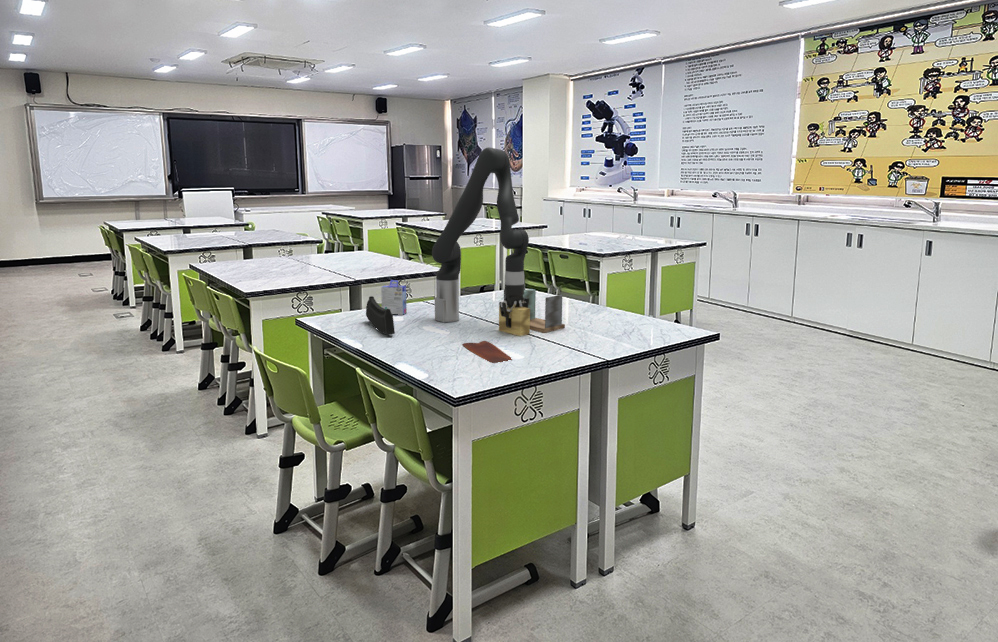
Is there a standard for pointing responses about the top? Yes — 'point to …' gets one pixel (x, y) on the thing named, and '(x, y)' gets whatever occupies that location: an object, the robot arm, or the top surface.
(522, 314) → the yellow block
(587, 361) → the top surface
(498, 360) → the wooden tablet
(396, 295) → the ink cartridge box
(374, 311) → the magazine
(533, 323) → the book shelf
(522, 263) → the robot arm
